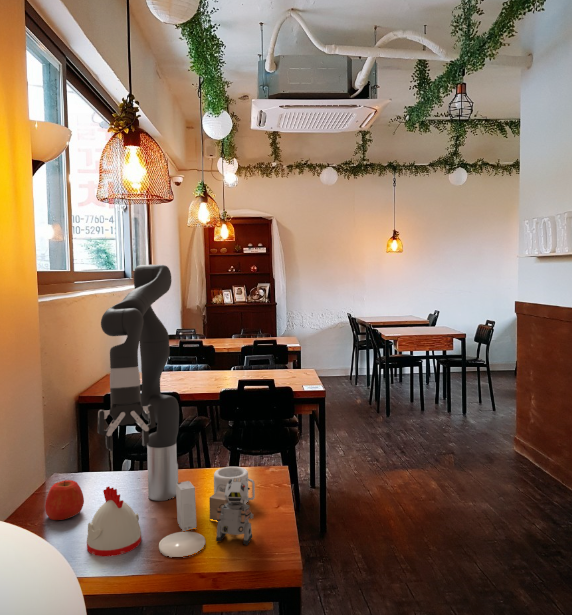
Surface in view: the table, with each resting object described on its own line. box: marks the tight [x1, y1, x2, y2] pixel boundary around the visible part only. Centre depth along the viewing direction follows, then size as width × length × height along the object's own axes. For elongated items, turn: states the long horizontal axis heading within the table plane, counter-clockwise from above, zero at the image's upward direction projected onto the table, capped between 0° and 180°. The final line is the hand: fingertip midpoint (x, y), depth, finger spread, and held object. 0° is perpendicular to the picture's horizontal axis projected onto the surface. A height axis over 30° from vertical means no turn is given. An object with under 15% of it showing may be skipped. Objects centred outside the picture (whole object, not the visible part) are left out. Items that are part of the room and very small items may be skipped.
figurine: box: [215, 478, 254, 546], centre depth 144 cm, size 9×12×15 cm
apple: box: [44, 479, 85, 521], centre depth 158 cm, size 11×11×11 cm
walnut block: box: [209, 491, 228, 520], centre depth 156 cm, size 5×5×7 cm
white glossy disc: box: [158, 531, 206, 558], centre depth 140 cm, size 12×12×1 cm
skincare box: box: [175, 480, 198, 532], centre depth 151 cm, size 6×4×12 cm
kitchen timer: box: [86, 486, 142, 557], centre depth 142 cm, size 14×14×15 cm
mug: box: [213, 466, 256, 505], centre depth 166 cm, size 14×11×10 cm
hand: (127, 448), depth 137 cm, fingers open, 8 cm apart
